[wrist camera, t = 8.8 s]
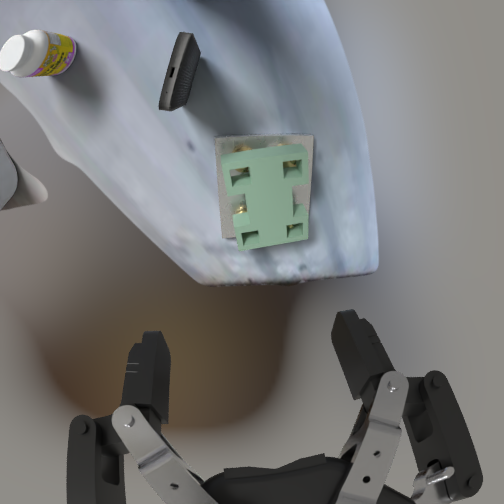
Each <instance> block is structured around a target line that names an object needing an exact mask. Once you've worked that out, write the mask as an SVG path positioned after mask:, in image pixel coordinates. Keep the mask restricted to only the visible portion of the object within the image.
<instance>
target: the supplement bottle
mask: <svg viewBox="0 0 504 504" xmlns="http://www.w3.org/2000/svg"><path fill="white" fill-rule="evenodd" d="M75 55H76V43H75V41H74V40H73V39H72V38H71V37H68V36H65V35H61V34H56V33H52V32H47V31H42V30H31V31H29V32H27V33H25V34H23V35H15V36H13V37H11V38H10V39H9V40H8V41H7V42H6V43H5V45H4V46H3V48H2V50H1V52H0V69H1V70H2V71H4V72H11V73H12V74H13V75H14V76H16V77H19V78H22V77H33V76H54V75H58V74H61V73H62V72H64V71H65V70H66V69H67V68H68V67H69V66H70V65H71V63H72V62H73V60H74V58H75Z"/></svg>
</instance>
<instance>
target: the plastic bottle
mask: <svg viewBox="0 0 504 504" xmlns="http://www.w3.org/2000/svg"><path fill="white" fill-rule="evenodd" d="M17 181H18V177H17V171H16V168H15V166H14V164H13V162H12V160H11V158H10V157H9V155H8V153H7V151H6V149H5V147H4V145H3V143H2V141H1V139H0V211H1V209H2V208H3V207H4V205H5V204H6V203H7V202H8V200H9V199H10V198H11V197H12V196H13V194H14V193H15V190H16V188H17Z"/></svg>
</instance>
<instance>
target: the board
mask: <svg viewBox="0 0 504 504" xmlns="http://www.w3.org/2000/svg"><path fill="white" fill-rule="evenodd" d="M293 160H296V166H295V167H287V168H283V162H285V161H293ZM221 166H222V171H223V176H224V181H225V186H226V191H227V196H233V195H239V194H245V200H246V206H247V212H245V213H240V214H234V215H233V223H234V230H235V235H236V239H237V244H238V249H239V251H243V250H249V249H255V248H261V247H266V246H272V245H278V244H283V243H289V242H295V241H301V240H306V239H308V217H309V215H308V213H307V211H306V209H305V207H304V205H303V203H301V204H294V205H293V197H292V186H296V185H304V184H309V170H308V151H307V150H306V149H305V147H304V146H303V145H302V144H301V143H300V144H291V145H282V146H274V147H267V148H260V149H253V150H247V151H241V152H235V153H229V154H223V155H221ZM244 167H248V170H249V173H247V174H241V175H235V176H231V174H230V170H233V169H239V168H244ZM292 224H293V228H291V229H290V228H289V227H288V225H292Z"/></svg>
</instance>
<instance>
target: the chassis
mask: <svg viewBox="0 0 504 504" xmlns="http://www.w3.org/2000/svg"><path fill="white" fill-rule="evenodd" d="M313 140H314V136H313V135H311V134H250V135H231V136H217V137H215V151H216V166H217V180H218V193H219V206H220V218H221V229H222V238H232V237H236V235H235V230H234V223H233V215H234V214H240V213H245V212H247V206H246V200H245V194H239V195H233V196H227V191H226V186H225V181H224V176H223V171H222V166H221V155H223V154H229V153H235V152H241V151H247V150H253V149H260V148H267V147H274V146H282V145H291V144H300V143H301V144H302V145H303V146H304V147H305V149H306V150H307V151H308V170H309V184H304V185H296V186H292V197H293V205H294V204H301V203H303V205H304V207H305V209H306V211H307V213H308V215H309V205H310V191H311V177H312V160H313ZM295 166H296V160H293V161H285V162H283V168H287V167H295ZM247 173H249V170H248V167H244V168H239V169H233V170H230V174H231V176H235V175H241V174H247ZM288 227H289V228H290V229H291V228H293V224H292V225H288Z"/></svg>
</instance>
